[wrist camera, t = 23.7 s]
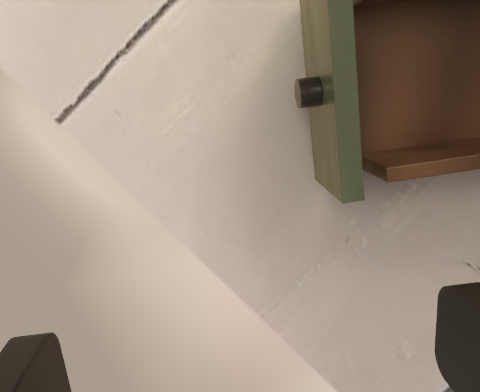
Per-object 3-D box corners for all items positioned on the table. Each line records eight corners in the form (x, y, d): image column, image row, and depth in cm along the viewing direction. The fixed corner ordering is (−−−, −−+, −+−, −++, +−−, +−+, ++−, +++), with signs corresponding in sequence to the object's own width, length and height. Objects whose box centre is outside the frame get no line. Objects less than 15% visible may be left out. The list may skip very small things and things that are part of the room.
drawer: (297, 182, 27) (319, 207, 22) (278, -7, 24) (298, -35, 19) (530, 148, 28) (610, 163, 22) (539, -42, 25) (635, -80, 19)
